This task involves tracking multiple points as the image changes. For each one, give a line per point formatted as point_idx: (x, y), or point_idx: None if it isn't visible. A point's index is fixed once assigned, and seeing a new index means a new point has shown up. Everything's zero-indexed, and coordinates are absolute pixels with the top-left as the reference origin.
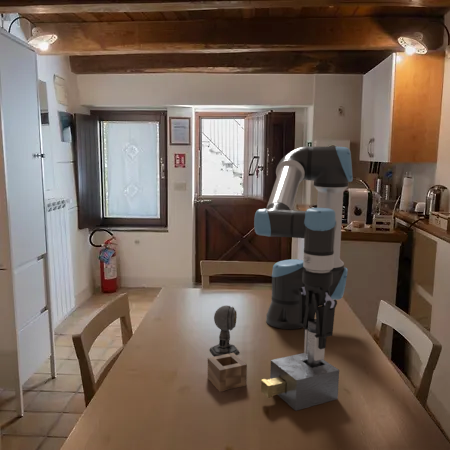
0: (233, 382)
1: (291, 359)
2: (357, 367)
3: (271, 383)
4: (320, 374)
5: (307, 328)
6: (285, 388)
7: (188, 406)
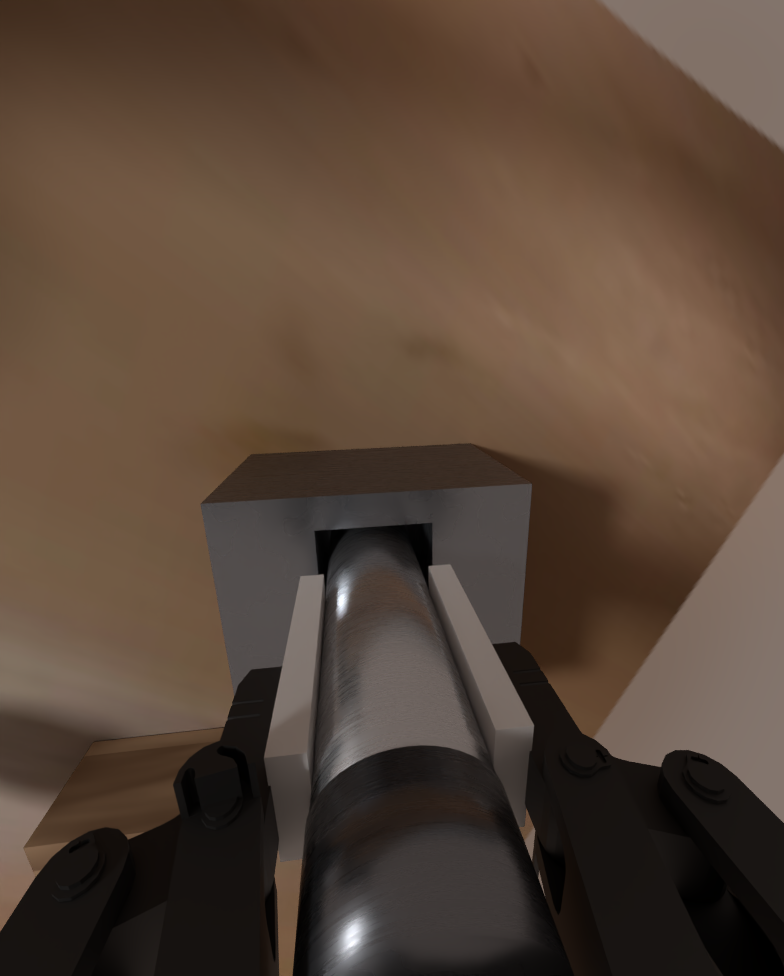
0: None
1: None
2: (208, 52)
3: None
4: (521, 618)
5: (274, 848)
6: None
7: None
